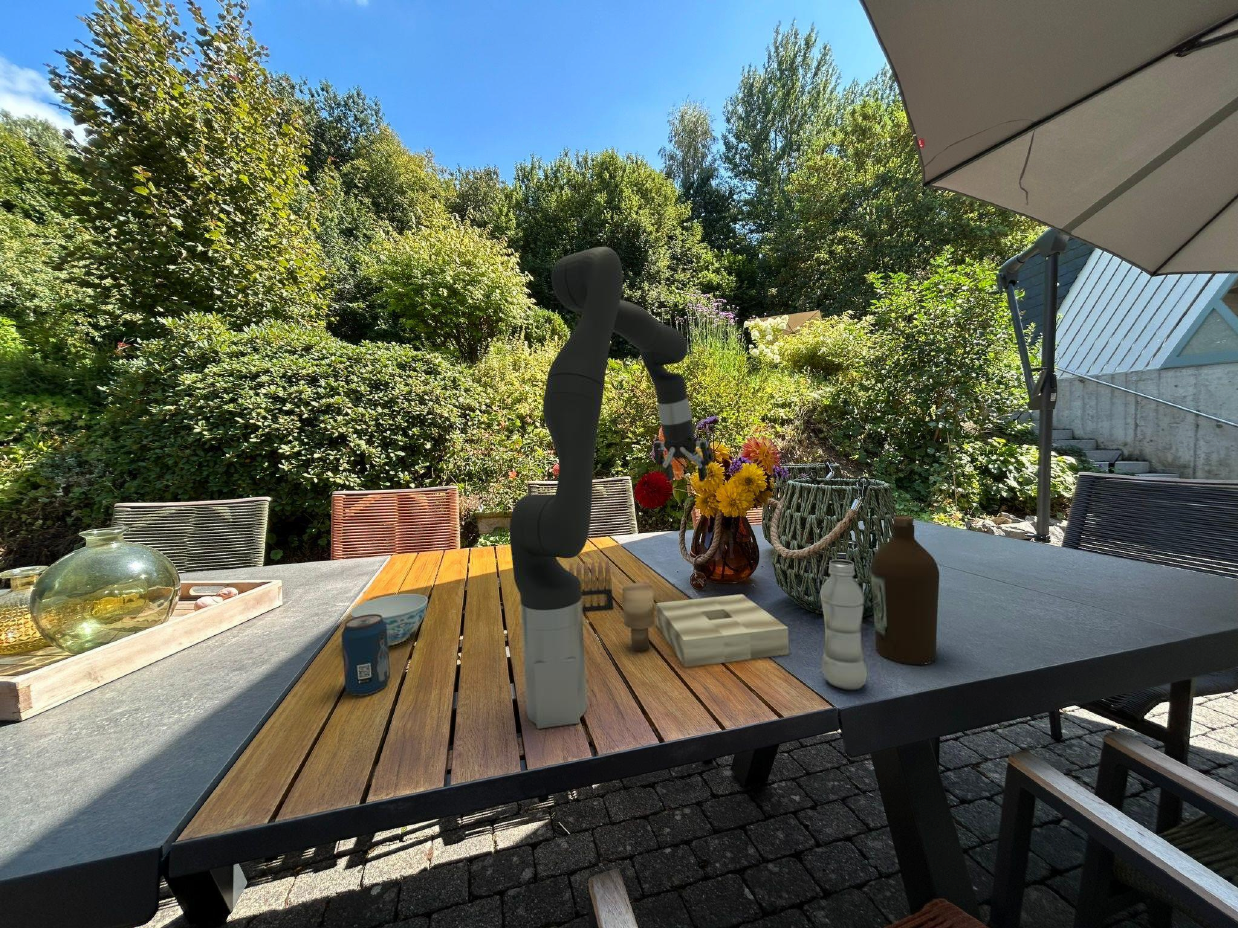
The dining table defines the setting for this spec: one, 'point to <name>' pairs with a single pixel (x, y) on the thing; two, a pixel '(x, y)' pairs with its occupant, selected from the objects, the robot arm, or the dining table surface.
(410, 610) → the chinaware
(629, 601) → the peg
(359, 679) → the soda can
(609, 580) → the ammunition clip
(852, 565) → the plastic bottle
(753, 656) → the board
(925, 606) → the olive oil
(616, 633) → the dining table surface
